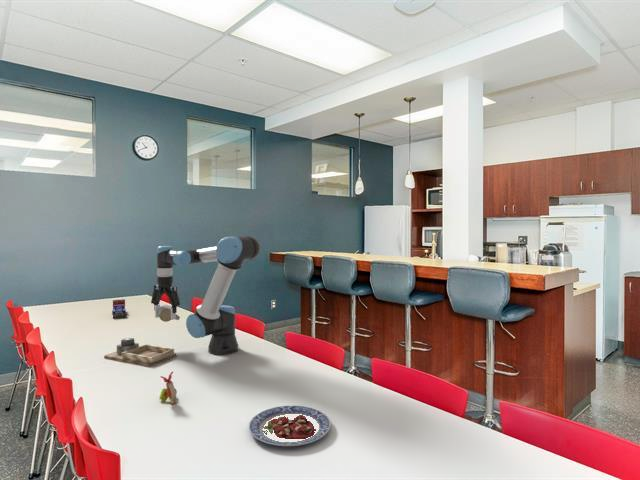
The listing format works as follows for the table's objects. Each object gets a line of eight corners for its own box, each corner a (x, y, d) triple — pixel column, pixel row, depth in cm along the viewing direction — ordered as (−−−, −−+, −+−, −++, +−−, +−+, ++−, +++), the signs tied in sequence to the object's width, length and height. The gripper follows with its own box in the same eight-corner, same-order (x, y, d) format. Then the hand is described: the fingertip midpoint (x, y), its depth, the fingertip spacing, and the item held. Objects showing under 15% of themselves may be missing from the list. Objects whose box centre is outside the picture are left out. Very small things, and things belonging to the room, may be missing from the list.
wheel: (137, 350, 203) (137, 338, 203) (127, 354, 198) (127, 341, 197) (128, 349, 206) (128, 337, 205) (118, 352, 200) (118, 340, 200)
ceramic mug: (159, 323, 207) (159, 307, 207) (157, 319, 214) (157, 305, 214) (180, 321, 212) (181, 306, 212) (178, 317, 219) (179, 303, 219)
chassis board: (176, 355, 200) (176, 345, 200) (149, 366, 185) (149, 355, 185) (133, 348, 212) (132, 338, 212) (104, 358, 196) (104, 347, 196)
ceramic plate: (328, 411, 142) (328, 402, 142) (333, 452, 117) (333, 442, 117) (254, 411, 142) (254, 403, 142) (242, 453, 116) (242, 442, 116)
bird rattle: (182, 406, 149) (172, 390, 155) (186, 383, 145) (177, 366, 151) (165, 412, 145) (156, 394, 151) (169, 387, 141) (160, 371, 147)
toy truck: (112, 319, 276) (112, 303, 276) (112, 312, 298) (112, 297, 298) (126, 318, 280) (125, 302, 280) (125, 311, 302) (125, 296, 302)
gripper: (187, 276, 210) (187, 319, 211) (154, 273, 219) (154, 314, 220) (176, 278, 203) (176, 322, 204) (143, 275, 213) (143, 317, 213)
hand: (165, 318), depth 212 cm, fingers closed on ceramic mug, 10 cm apart
